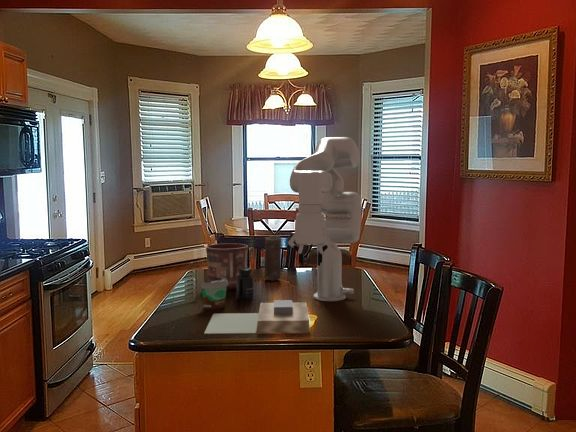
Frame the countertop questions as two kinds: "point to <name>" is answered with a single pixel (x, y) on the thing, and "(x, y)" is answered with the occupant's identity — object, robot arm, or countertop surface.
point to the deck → (283, 319)
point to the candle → (272, 258)
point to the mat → (233, 323)
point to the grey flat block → (283, 307)
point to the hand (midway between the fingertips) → (310, 264)
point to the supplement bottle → (245, 285)
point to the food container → (214, 293)
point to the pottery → (226, 262)
